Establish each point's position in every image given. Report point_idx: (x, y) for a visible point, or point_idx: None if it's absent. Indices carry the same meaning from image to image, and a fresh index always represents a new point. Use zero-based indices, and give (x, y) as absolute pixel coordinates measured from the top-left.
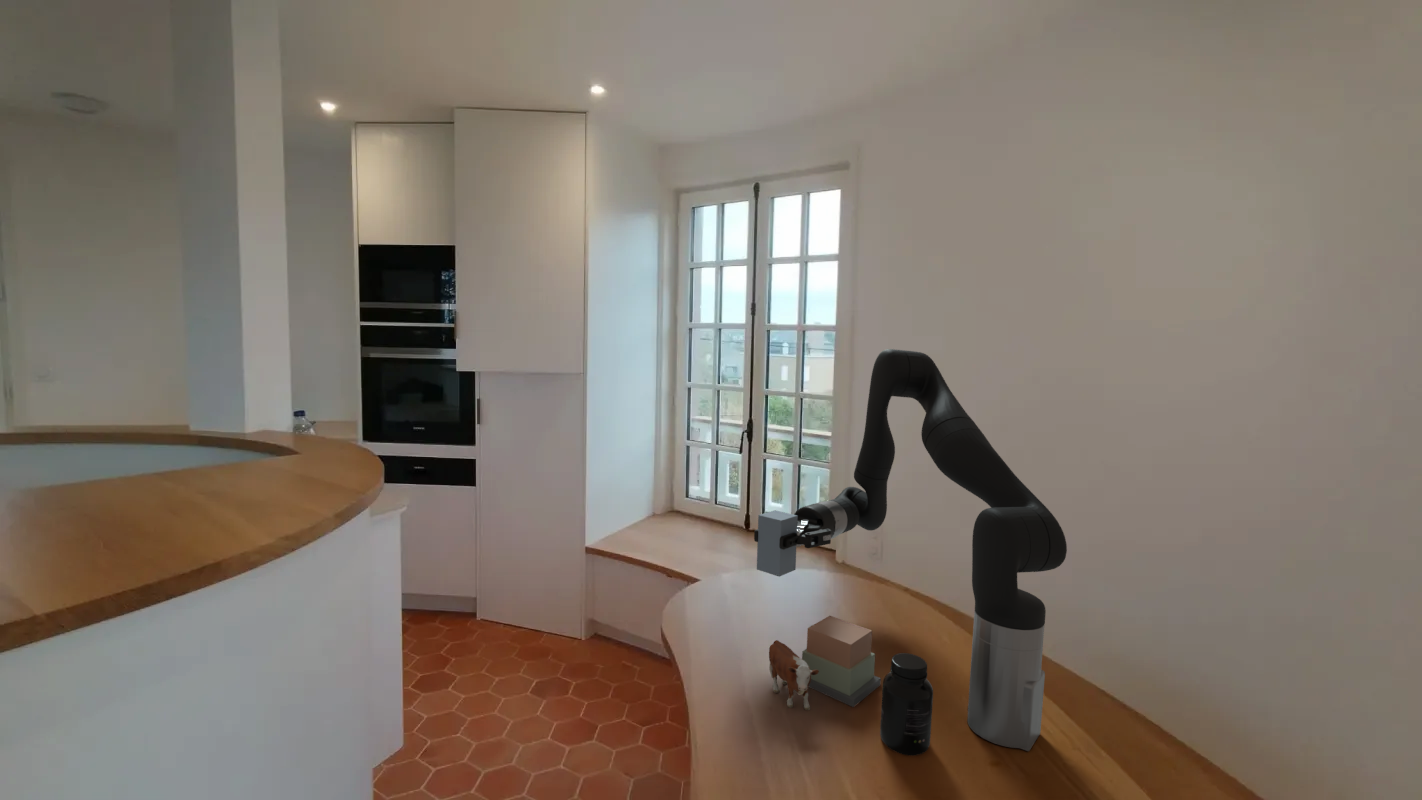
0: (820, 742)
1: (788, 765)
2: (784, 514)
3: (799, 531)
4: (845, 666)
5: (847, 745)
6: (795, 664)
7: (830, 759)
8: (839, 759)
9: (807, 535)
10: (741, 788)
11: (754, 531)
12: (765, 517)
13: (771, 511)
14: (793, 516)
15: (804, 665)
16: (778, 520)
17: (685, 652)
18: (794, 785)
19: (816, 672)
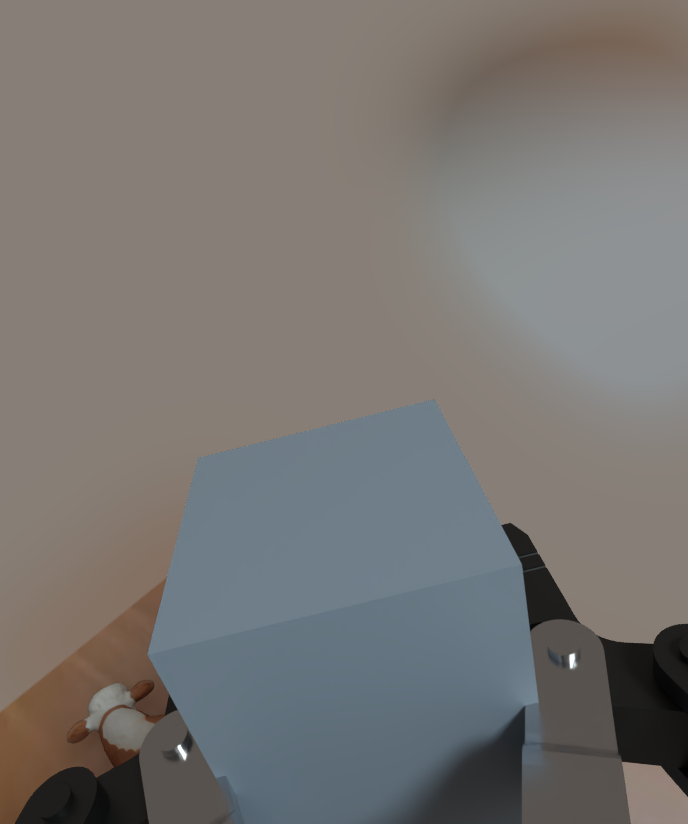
0: (88, 754)
1: (123, 658)
2: (293, 556)
3: (159, 748)
4: None
5: (27, 801)
6: (145, 714)
7: (55, 732)
8: (37, 748)
9: (63, 775)
10: (165, 578)
11: (509, 525)
12: (361, 424)
13: (482, 508)
14: (169, 590)
15: (99, 693)
16: (227, 456)
17: None
18: (97, 639)
19: (74, 735)
